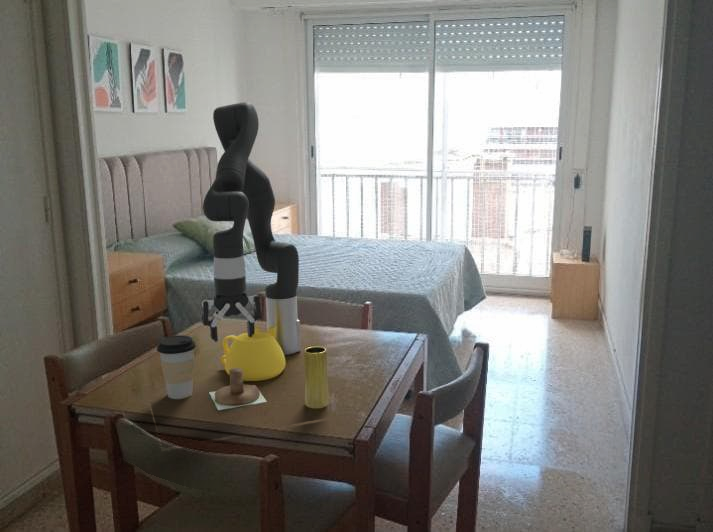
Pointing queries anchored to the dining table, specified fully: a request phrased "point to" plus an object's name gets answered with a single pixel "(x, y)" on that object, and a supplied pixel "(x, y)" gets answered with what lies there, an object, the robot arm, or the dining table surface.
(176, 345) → the coffee cup
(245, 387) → the lid
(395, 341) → the dining table surface
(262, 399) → the mat
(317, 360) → the vase
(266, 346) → the teapot
